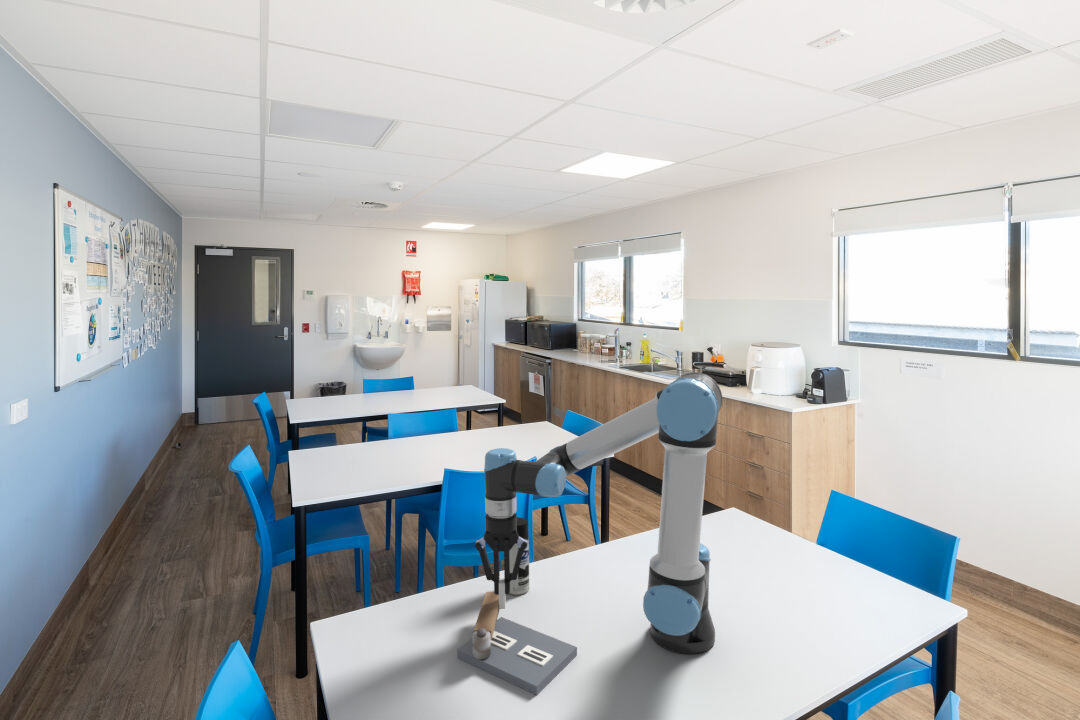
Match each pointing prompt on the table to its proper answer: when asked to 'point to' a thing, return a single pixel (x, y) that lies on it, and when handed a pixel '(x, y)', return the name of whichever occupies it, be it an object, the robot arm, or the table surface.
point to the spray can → (522, 580)
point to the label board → (522, 656)
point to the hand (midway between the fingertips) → (502, 605)
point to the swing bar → (485, 626)
